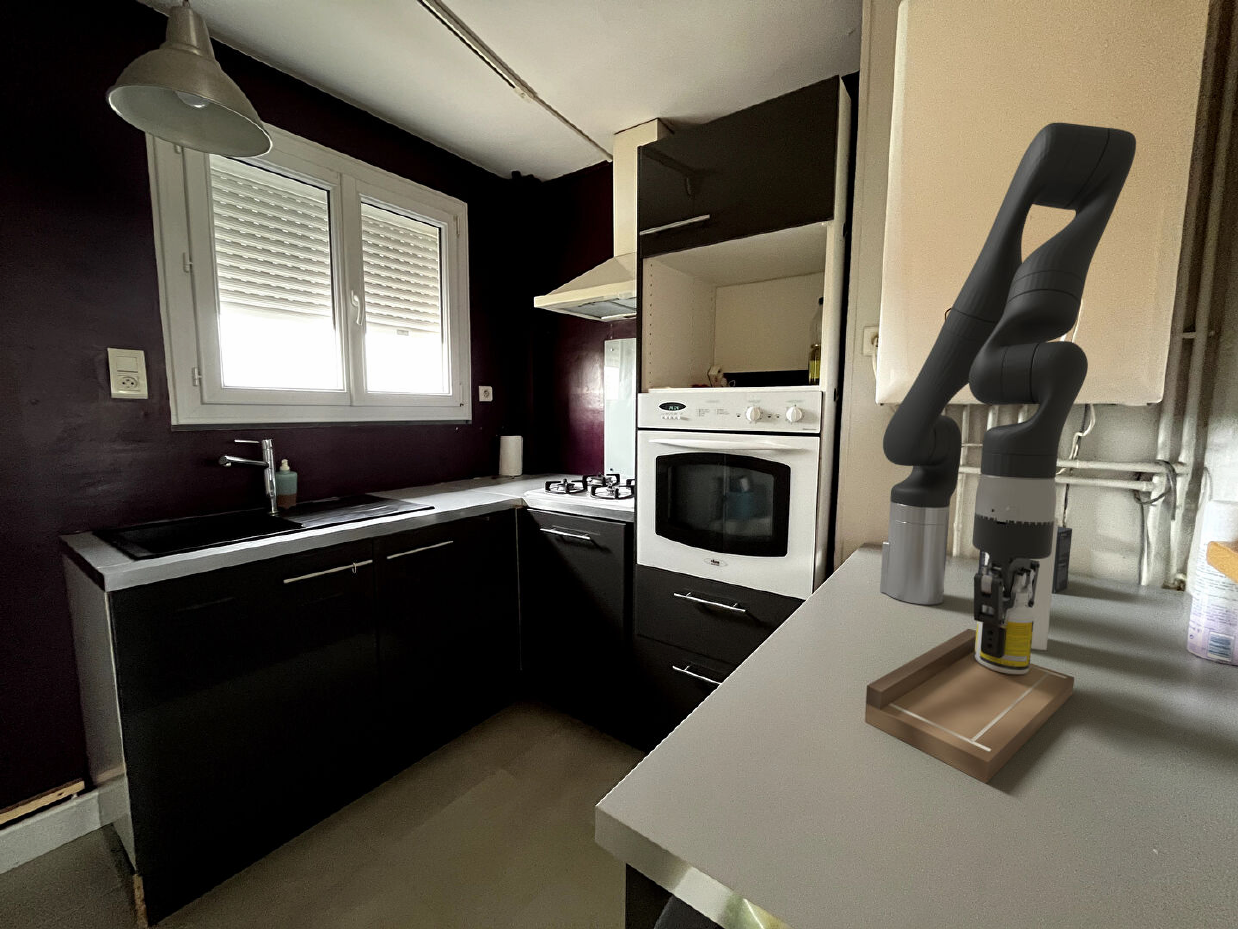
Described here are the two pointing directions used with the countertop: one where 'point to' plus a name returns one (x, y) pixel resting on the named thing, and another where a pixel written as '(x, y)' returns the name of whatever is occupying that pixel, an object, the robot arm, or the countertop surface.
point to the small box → (1060, 559)
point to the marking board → (964, 706)
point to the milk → (1042, 596)
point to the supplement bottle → (1011, 640)
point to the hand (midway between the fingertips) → (1001, 648)
